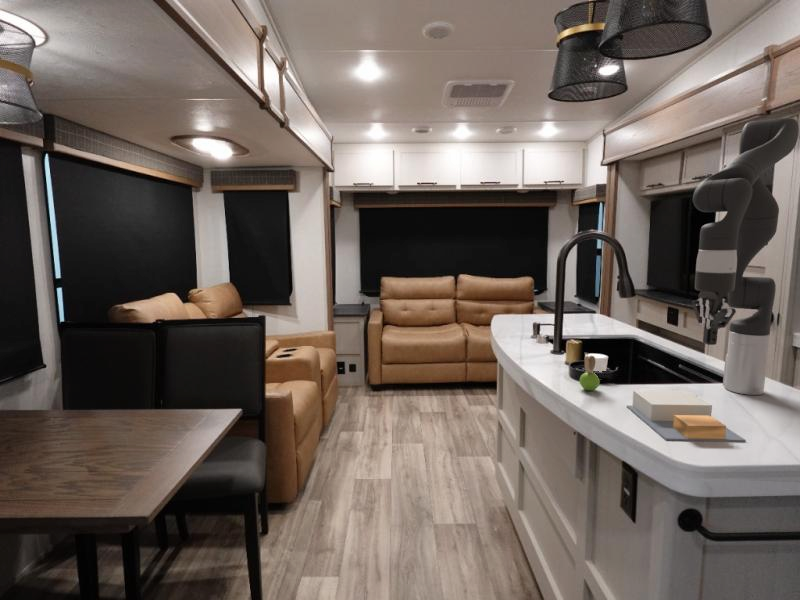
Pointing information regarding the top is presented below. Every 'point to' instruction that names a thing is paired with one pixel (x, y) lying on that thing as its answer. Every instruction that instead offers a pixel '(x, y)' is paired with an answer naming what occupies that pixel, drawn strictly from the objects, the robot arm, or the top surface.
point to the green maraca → (589, 374)
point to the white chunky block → (599, 361)
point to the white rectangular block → (669, 404)
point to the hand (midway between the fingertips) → (709, 343)
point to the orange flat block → (699, 427)
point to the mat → (671, 433)
